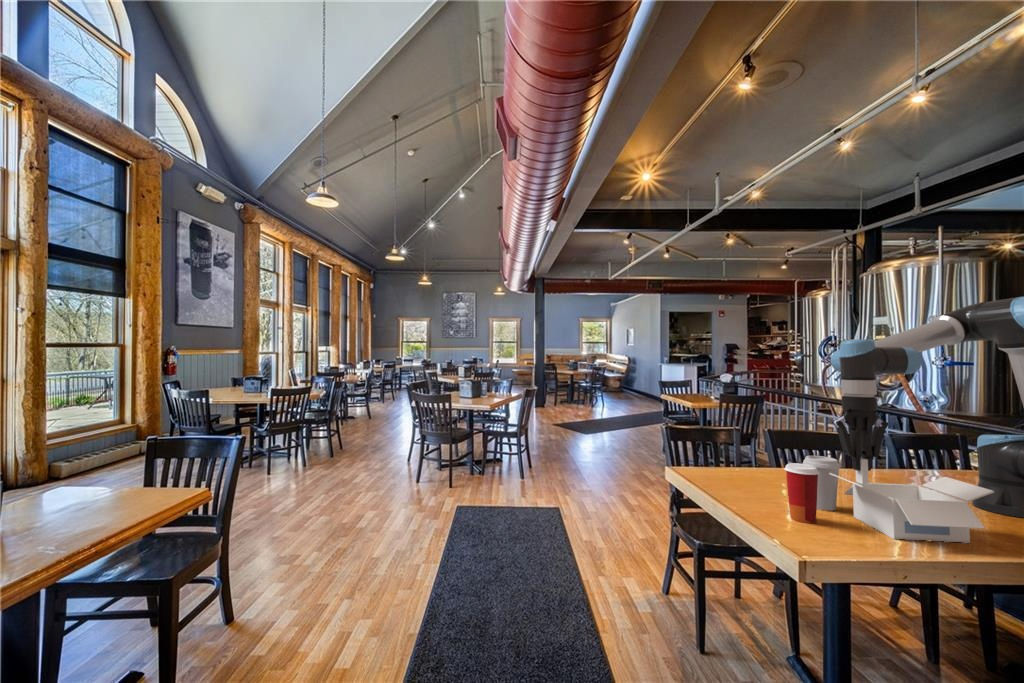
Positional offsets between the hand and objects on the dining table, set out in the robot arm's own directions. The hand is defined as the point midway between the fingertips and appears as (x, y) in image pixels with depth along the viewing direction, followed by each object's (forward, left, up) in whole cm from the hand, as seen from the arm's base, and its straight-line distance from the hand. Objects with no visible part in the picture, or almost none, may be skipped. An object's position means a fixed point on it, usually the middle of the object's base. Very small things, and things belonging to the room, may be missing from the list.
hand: (862, 482), depth 115 cm
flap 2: (-23, 0, 0) cm, 23 cm away
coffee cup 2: (+1, -16, -12) cm, 20 cm away
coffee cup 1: (+13, -4, -12) cm, 18 cm away
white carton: (-11, 0, -12) cm, 16 cm away
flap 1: (+1, 0, 0) cm, 1 cm away
